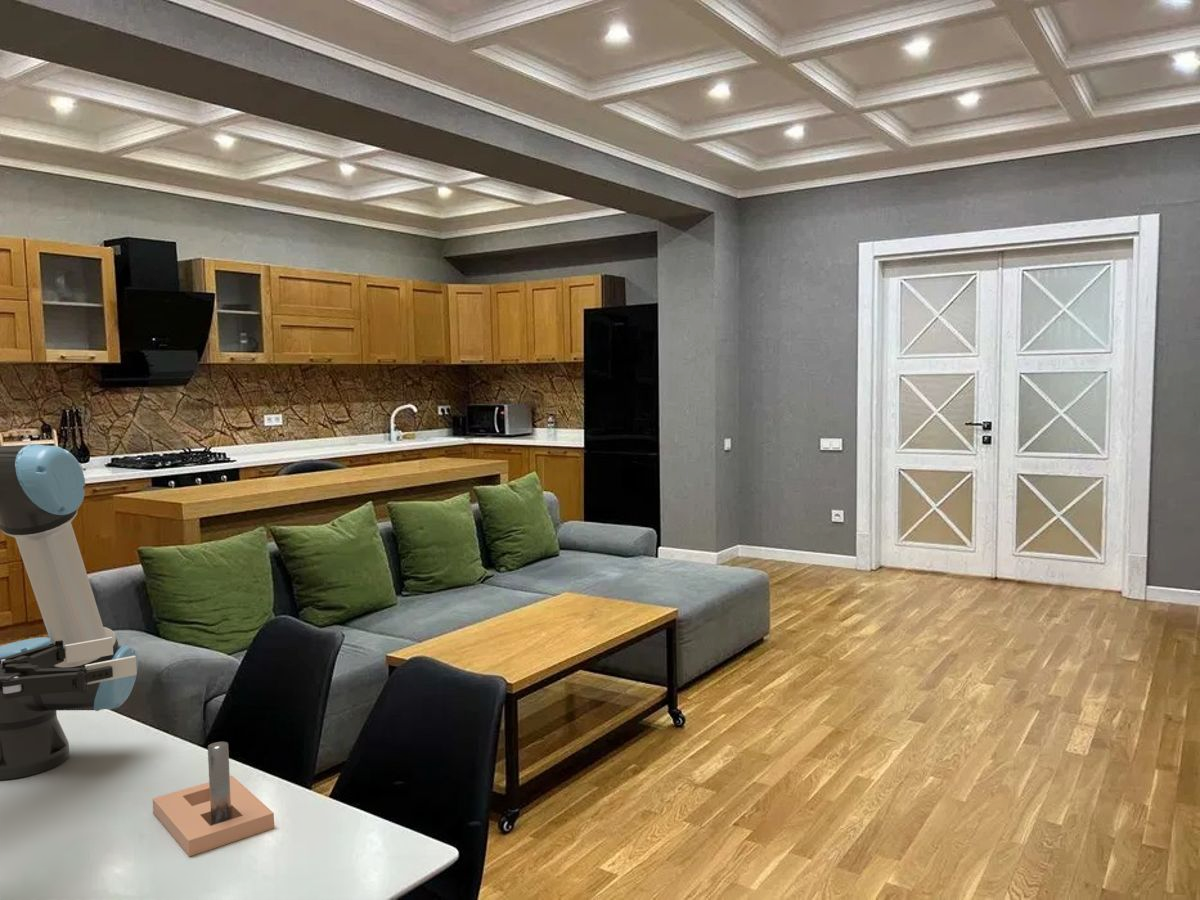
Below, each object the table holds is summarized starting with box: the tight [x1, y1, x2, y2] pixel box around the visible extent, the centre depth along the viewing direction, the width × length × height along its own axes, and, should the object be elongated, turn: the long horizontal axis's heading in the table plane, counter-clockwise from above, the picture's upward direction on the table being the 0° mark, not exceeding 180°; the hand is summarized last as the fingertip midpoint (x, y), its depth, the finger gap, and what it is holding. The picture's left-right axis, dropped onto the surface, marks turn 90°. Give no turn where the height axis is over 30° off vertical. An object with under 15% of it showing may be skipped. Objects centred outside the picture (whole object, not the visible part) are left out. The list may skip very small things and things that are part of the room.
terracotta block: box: [152, 774, 275, 858], centre depth 147 cm, size 19×13×2 cm
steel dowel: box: [207, 741, 231, 826], centre depth 143 cm, size 3×3×14 cm
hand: (123, 654), depth 138 cm, fingers open, 13 cm apart
